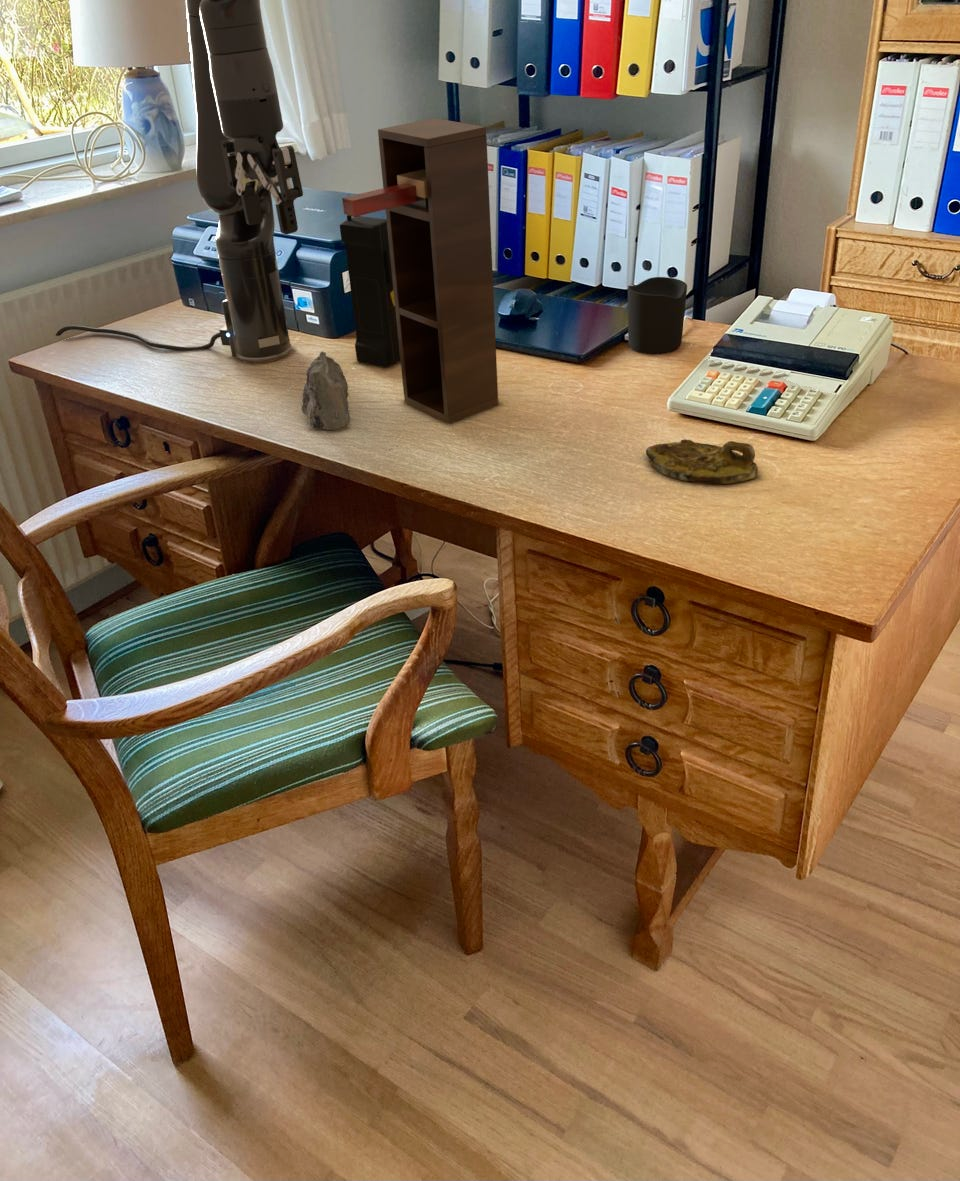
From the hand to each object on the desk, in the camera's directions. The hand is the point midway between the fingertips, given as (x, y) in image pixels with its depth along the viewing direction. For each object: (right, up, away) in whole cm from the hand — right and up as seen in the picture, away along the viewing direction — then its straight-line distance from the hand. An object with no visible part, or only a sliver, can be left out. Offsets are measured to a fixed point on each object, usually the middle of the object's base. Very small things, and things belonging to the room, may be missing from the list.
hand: (272, 228), depth 134 cm
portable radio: (+11, -9, +37) cm, 40 cm away
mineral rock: (+5, -21, +21) cm, 30 cm away
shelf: (+23, -19, +21) cm, 36 cm away
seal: (+56, -31, 0) cm, 64 cm away
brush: (+17, +3, +2) cm, 18 cm away
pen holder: (+56, -7, +36) cm, 67 cm away
